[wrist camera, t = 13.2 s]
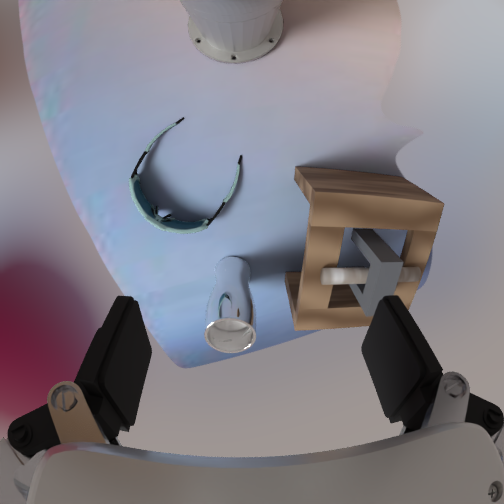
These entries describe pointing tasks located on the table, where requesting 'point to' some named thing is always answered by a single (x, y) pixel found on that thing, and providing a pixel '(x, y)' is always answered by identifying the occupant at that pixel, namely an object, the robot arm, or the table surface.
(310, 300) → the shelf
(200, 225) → the sunglasses
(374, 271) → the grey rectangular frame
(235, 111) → the table surface
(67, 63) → the table surface
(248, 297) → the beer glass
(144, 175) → the table surface
